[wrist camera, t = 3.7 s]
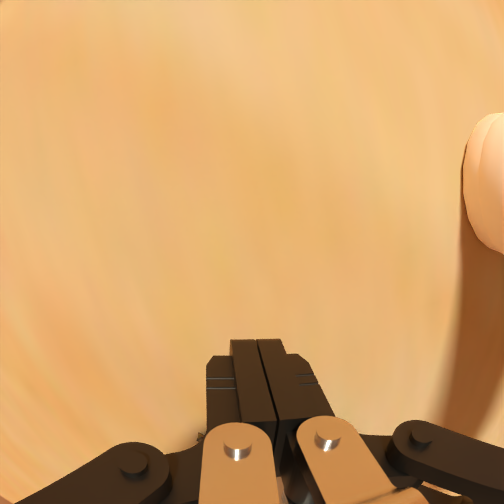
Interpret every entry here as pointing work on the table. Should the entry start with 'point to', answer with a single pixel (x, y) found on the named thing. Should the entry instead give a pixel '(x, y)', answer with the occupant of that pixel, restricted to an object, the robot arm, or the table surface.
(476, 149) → the bottle
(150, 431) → the table surface
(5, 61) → the table surface
